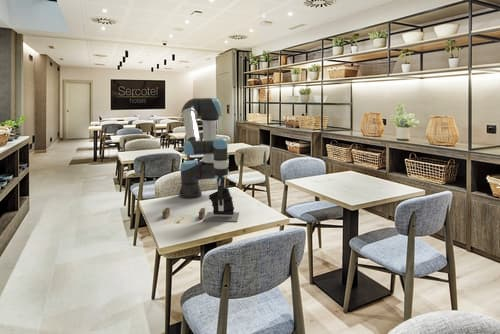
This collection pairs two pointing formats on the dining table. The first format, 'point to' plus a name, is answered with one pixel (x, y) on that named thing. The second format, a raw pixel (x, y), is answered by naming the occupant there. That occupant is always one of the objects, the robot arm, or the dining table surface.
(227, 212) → the black piece
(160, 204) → the dining table surface
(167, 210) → the walnut holder
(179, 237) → the dining table surface
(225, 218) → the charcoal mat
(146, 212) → the dining table surface
